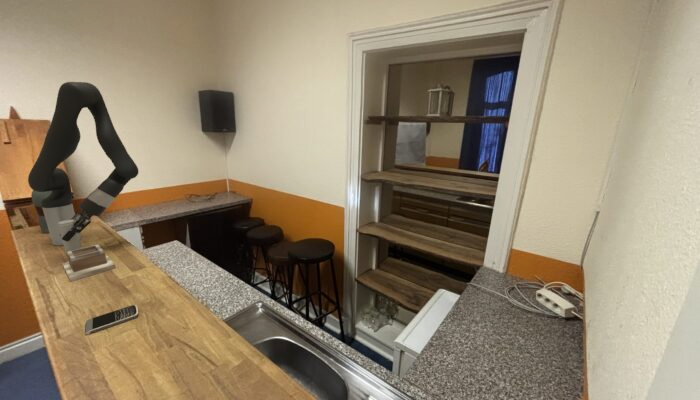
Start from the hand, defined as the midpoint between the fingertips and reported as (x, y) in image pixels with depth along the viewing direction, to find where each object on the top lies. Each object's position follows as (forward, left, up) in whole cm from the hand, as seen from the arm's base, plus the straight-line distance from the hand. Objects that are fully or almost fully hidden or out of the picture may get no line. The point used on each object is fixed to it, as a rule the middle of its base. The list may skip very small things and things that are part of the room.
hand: (63, 238), depth 107 cm
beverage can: (-1, +2, -6) cm, 6 cm away
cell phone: (+50, +31, -10) cm, 60 cm away
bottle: (-44, -24, -9) cm, 51 cm away
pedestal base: (+11, +11, -9) cm, 18 cm away
